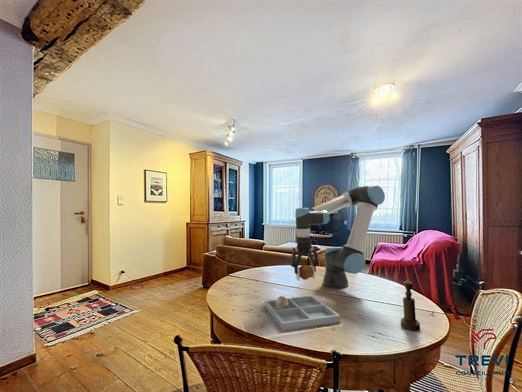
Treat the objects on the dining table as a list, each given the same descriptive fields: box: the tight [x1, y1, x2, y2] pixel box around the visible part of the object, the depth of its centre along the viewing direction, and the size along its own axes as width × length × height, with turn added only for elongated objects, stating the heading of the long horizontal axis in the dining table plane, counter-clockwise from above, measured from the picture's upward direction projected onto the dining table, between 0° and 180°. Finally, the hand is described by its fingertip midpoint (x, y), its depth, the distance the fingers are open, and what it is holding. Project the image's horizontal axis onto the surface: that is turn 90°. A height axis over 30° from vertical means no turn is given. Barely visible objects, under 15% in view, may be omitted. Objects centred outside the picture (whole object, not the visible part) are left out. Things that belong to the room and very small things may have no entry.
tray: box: [264, 295, 341, 333], centre depth 111 cm, size 25×25×4 cm
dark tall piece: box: [400, 280, 421, 332], centre depth 99 cm, size 7×6×18 cm
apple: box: [298, 264, 313, 281], centre depth 135 cm, size 8×8×8 cm
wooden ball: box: [275, 295, 289, 310], centre depth 116 cm, size 6×6×6 cm
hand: (305, 278), depth 134 cm, fingers closed on apple, 8 cm apart
